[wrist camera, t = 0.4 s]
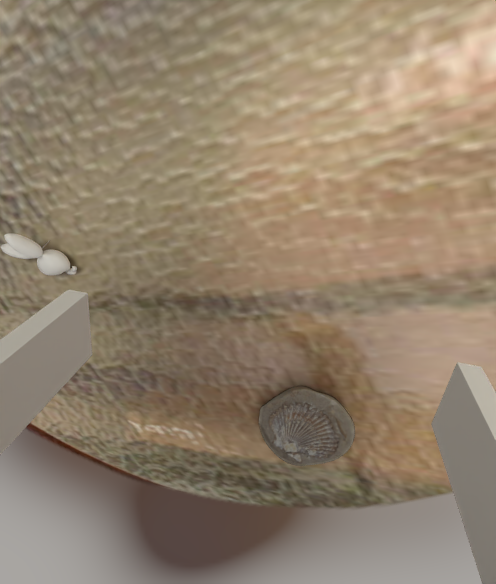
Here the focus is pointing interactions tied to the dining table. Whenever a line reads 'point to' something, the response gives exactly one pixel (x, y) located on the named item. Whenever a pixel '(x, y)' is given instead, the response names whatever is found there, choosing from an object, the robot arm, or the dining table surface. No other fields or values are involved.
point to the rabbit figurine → (37, 255)
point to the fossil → (306, 427)
